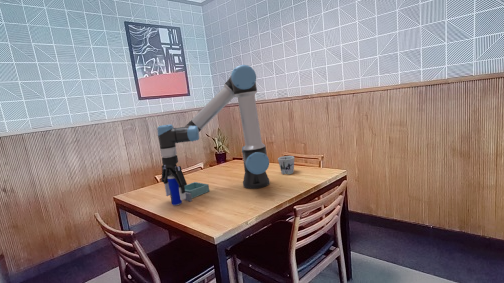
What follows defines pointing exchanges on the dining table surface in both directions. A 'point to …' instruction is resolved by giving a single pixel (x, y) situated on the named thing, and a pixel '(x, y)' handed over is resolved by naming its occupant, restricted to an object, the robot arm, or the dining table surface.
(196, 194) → the teal open drawer
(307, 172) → the dining table surface
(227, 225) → the dining table surface
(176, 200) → the beverage can
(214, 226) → the dining table surface
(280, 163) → the mug
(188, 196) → the block
